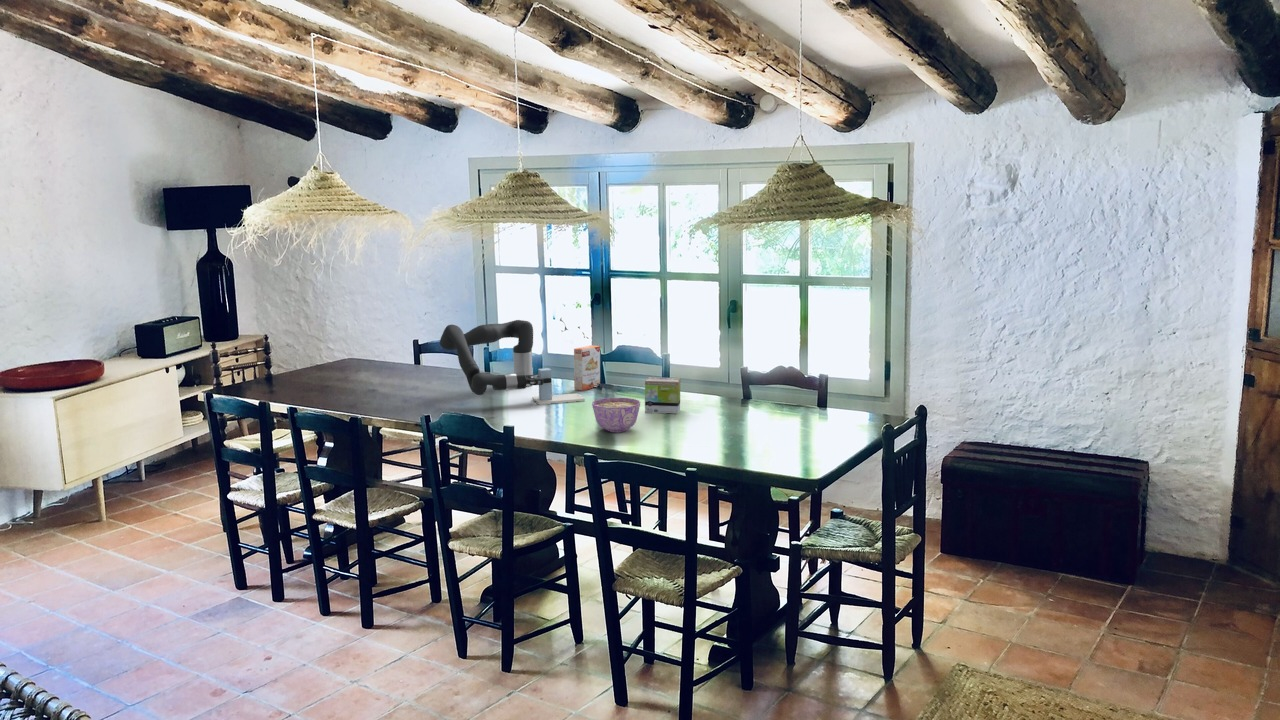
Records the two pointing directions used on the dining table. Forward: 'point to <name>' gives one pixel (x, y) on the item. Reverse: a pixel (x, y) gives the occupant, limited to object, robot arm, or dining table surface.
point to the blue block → (545, 384)
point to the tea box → (662, 395)
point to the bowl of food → (616, 413)
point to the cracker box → (586, 367)
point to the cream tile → (560, 399)
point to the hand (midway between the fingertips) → (548, 378)
